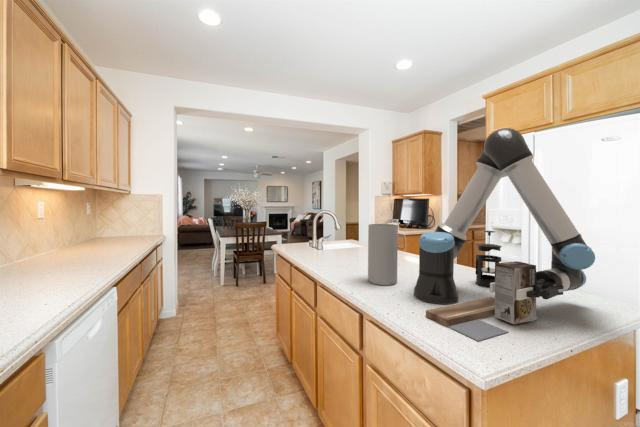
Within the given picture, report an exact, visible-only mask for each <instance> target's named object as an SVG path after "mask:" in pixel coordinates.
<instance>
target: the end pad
mask: <svg viewBox="0 0 640 427" xmlns="http://www.w3.org/2000/svg"><path fill="white" fill-rule="evenodd" d="M447 328H448V329H451V330H453V331H454V332H457V333H459V334H461V335H463V336H465V337H467V338H469V339H471V340H473V341H476V342H481V341H484V340H488V339H492V338H495V337H499V336H502V335H506V334H508V333H509V331H507V330H506V329H503V328H500V327H497V326H496V325H493V324H490V323H488V322H485V321H483V320H481V319H476V320H472V321H468V322H464V323H460V324H456V325H452V326H448V327H447Z"/></svg>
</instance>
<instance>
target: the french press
mask: <svg viewBox="0 0 640 427" xmlns="http://www.w3.org/2000/svg"><path fill="white" fill-rule="evenodd" d="M483 233H487V236H488V243H477V244H476V246H477V250H478V251H482V252H487V253H488V254H476V256H475V275H476V277H475V279H476V281H475V285H476V286H479V287H483V288H487V289H490V283H493V282H495V268H491V267H490V263H494V265H495V264H496V263H502V257H501V256H496V255H492V254H491V255H490V252H491V251H492V250H493V251H494V250H495V251H499V252H500V251H501V248H503V246H502V245H501V244H500V245H499V244H493V243H491V241H490V240H491V239H490V238H491V237H490V236H491V235H492V234H491V233H495V230H494V231H493V230H484V231H483ZM484 262H487V267H484ZM490 274H492V275H490Z"/></svg>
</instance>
